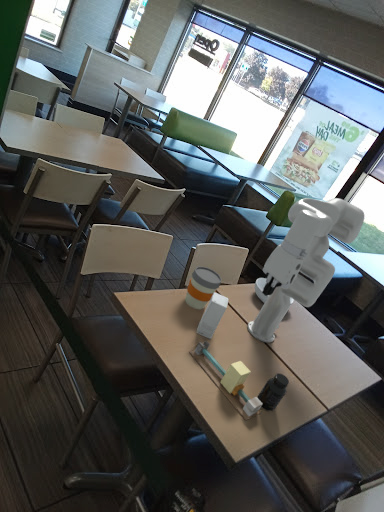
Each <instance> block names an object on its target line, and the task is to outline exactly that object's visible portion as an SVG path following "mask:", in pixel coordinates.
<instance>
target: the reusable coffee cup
mask: <svg viewBox="0 0 384 512" xmlns="http://www.w3.org/2000/svg"><path fill="white" fill-rule="evenodd" d="M191 275H192V276H191V278H190V279H189V282H188V286H187V288H186V291H187V292H186V296H185V298H184V301H185V303H186V304H187V306H189V307H191V308H192V309H195V310H203V309H204V308H205V307H206V305H208V303H209V302H210V299H211V297H212V295H213V293H214V292H215V293H217V290H218V289H219V288H220V286H221V283H222V281H223V279H222V277H221V276H220V274H219V273H218V272H216V271H215V270H213V269H211V268H209V267H206V266H202V265H201V266H196V267H195V269H194V270H193V272H192V273H191Z"/></svg>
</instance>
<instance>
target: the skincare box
mask: <svg viewBox="0 0 384 512" xmlns="http://www.w3.org/2000/svg"><path fill="white" fill-rule="evenodd" d="M228 303H229V298H228V297H226V296H224V295H221V294H220V293H217V292H216V293H215V292H214V293H213V295H212V297H211V299H210V301H208V303H207V306H206V308H205V310H204V312H203V313H202V317H201V319H200V320H199V323H198V326H197V329H196V333H197V334H198V335H200V336H202V337H204V338H206V339H209V340H211V339H212V338H213V335H214V334H215V332H216V330H217V329H218V328H217V327H218V326H219V324H220V322H221V320H222V318H223V316H224V314H225V313H226V309H227V308H228Z"/></svg>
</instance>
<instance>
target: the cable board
mask: <svg viewBox="0 0 384 512" xmlns="http://www.w3.org/2000/svg"><path fill="white" fill-rule="evenodd" d="M210 345H211V344H210V342H208V341H207V340H204V341H203V342H202V341H200V342H198V344H197V345H196V347H195V349H193V350H190V351H188V352H189V354H190V355H191V357H192V358H193V359H194V360H195V361H196V363H197V364H198V365H199V367H201V368H202V370H203V371H204V372H205V373H206V375H207V376H208V377H209V378H210V379H211V381H212V382H213V383H214V384H215V386H216V387H217V388H218V389H219V390H220V392H223V393H222V394H223V395H224V396H225V397H226V398H227V400H228V401H229V402H230V404H232V406H233V407H234V408H235V410H236V411H237V412H238V413H239V415H241V417H242V418H243V419H244V420H245V421H247V420H249V419H251V418H253V417H255V416H258V415H259V414H261V413H262V411H261V410H260V409H261V408H262V407H261V406H262V402H261V401H260V400H259V399H258V398H257V397H258V396H255V397H252V398H250V397H249V396H248V395H247V393H246V392H245V391H244V390H243V389H244V388H245V385H244V383H243V384H240V385H237V386H236V387H235V388H234V390H233V392H232V393H229V392H228V391H227V390H226V388H225V387H224V386H223V385H222V384H221V383H220V382H221V380H222V378H223V377H224V375H225V373H226V372H227V370H226V369H225V368H224V367H223V366H222V365H221V364H220V363H219V362H218V360H217V359H216V358H215V357H214V356H213V355H212V353H211V352H210V351H209V350H208V349H209V347H210Z"/></svg>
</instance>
